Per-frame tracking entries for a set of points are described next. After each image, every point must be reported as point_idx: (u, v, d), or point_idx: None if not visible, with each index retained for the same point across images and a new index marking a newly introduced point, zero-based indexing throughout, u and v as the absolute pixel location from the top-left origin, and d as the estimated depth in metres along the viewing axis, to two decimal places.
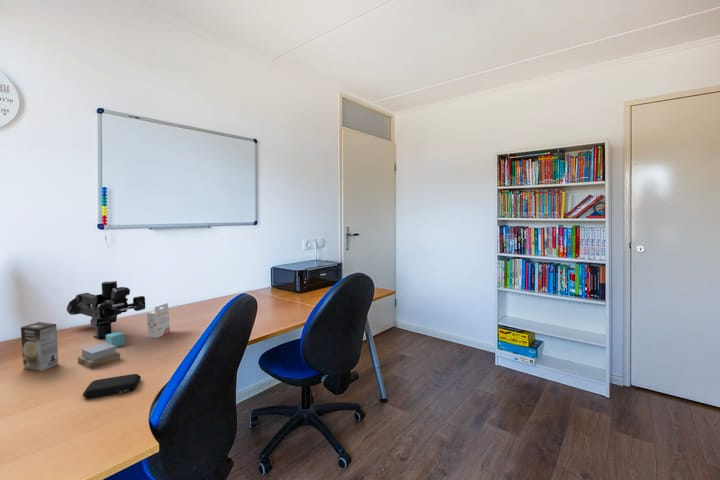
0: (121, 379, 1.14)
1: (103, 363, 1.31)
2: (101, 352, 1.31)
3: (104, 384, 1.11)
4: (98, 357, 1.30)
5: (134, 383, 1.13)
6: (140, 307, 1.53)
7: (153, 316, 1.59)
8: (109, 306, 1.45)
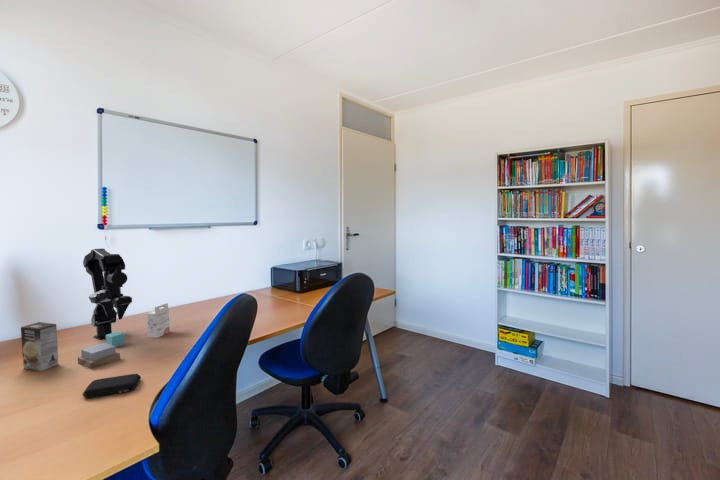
0: (121, 379, 1.14)
1: (103, 363, 1.31)
2: (101, 352, 1.31)
3: (104, 384, 1.11)
4: (98, 357, 1.30)
5: (134, 383, 1.13)
6: None
7: (153, 316, 1.59)
8: (100, 304, 1.51)
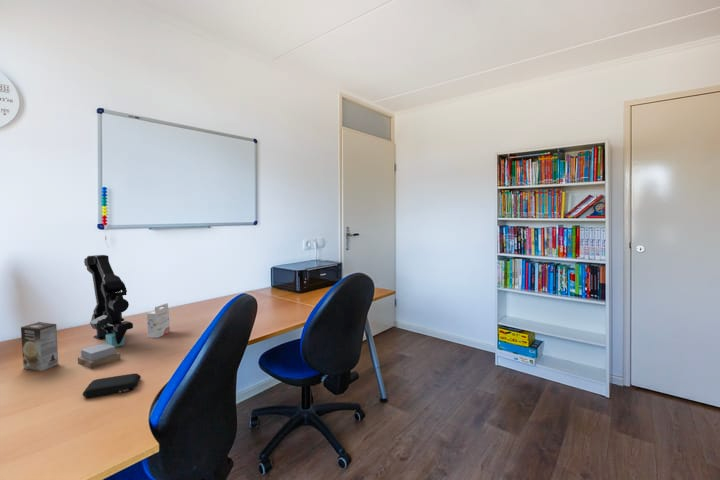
0: (121, 378, 1.14)
1: (103, 363, 1.31)
2: (100, 352, 1.31)
3: (104, 383, 1.11)
4: (97, 357, 1.30)
5: (134, 383, 1.13)
6: None
7: (153, 316, 1.59)
8: (104, 329, 1.51)
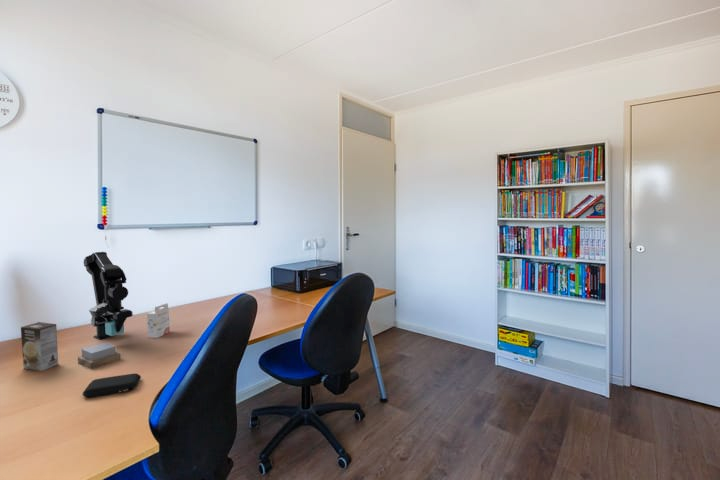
0: (121, 378, 1.15)
1: (103, 363, 1.31)
2: (100, 352, 1.31)
3: (104, 383, 1.11)
4: (97, 357, 1.30)
5: (134, 383, 1.13)
6: None
7: (153, 316, 1.59)
8: (103, 317, 1.50)
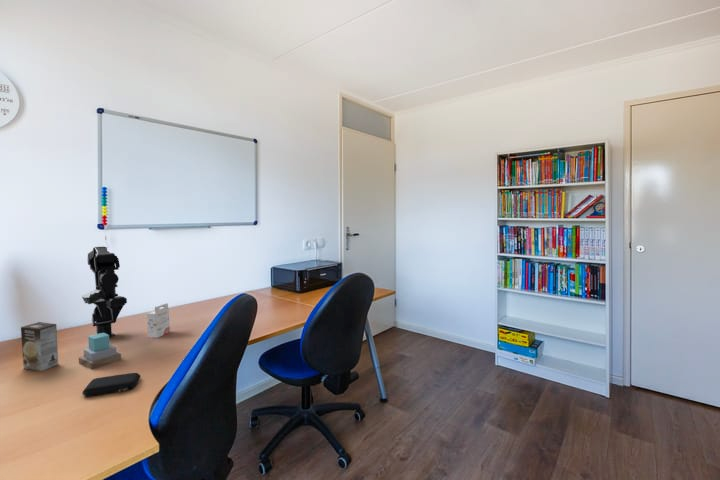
0: (120, 378, 1.15)
1: (104, 363, 1.31)
2: (101, 353, 1.31)
3: (104, 382, 1.12)
4: (98, 358, 1.30)
5: (133, 382, 1.13)
6: None
7: (153, 316, 1.59)
8: (95, 304, 1.47)
